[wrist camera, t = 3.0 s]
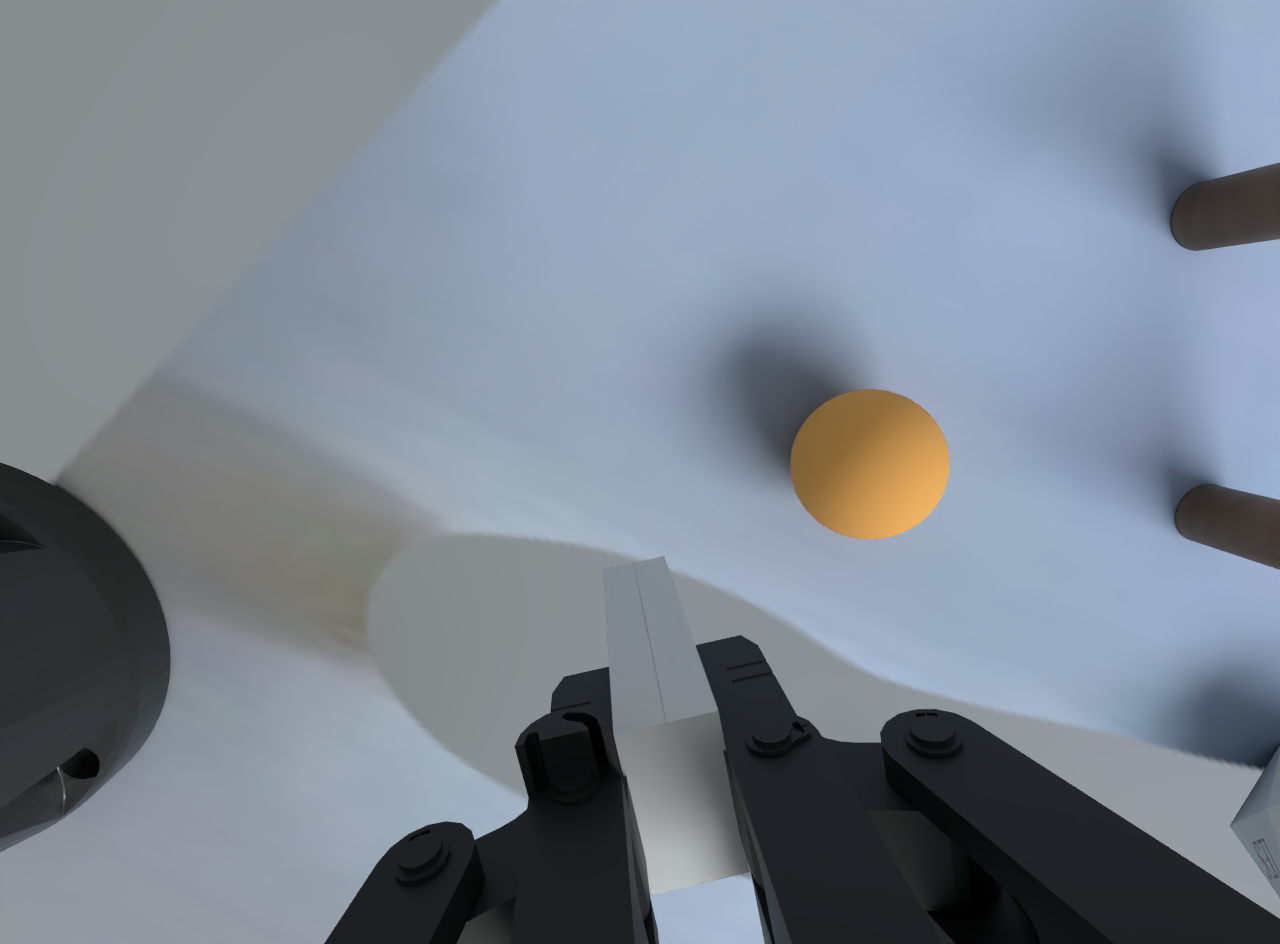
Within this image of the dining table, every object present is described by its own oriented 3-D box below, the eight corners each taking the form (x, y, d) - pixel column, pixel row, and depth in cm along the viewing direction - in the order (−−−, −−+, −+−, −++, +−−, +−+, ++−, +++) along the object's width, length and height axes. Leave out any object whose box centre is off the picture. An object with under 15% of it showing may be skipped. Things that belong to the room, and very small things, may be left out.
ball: (782, 528, 27) (833, 576, 21) (762, 399, 26) (810, 415, 20) (908, 500, 27) (989, 540, 22) (894, 371, 26) (976, 380, 20)
